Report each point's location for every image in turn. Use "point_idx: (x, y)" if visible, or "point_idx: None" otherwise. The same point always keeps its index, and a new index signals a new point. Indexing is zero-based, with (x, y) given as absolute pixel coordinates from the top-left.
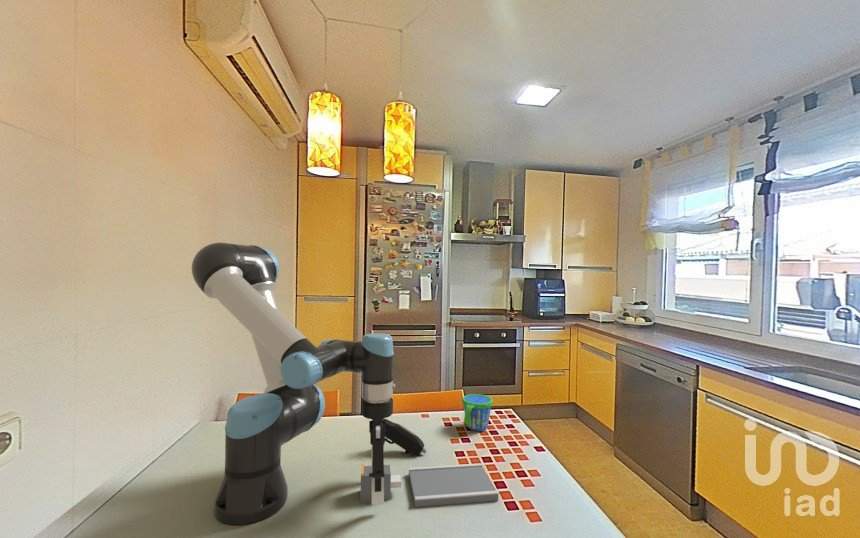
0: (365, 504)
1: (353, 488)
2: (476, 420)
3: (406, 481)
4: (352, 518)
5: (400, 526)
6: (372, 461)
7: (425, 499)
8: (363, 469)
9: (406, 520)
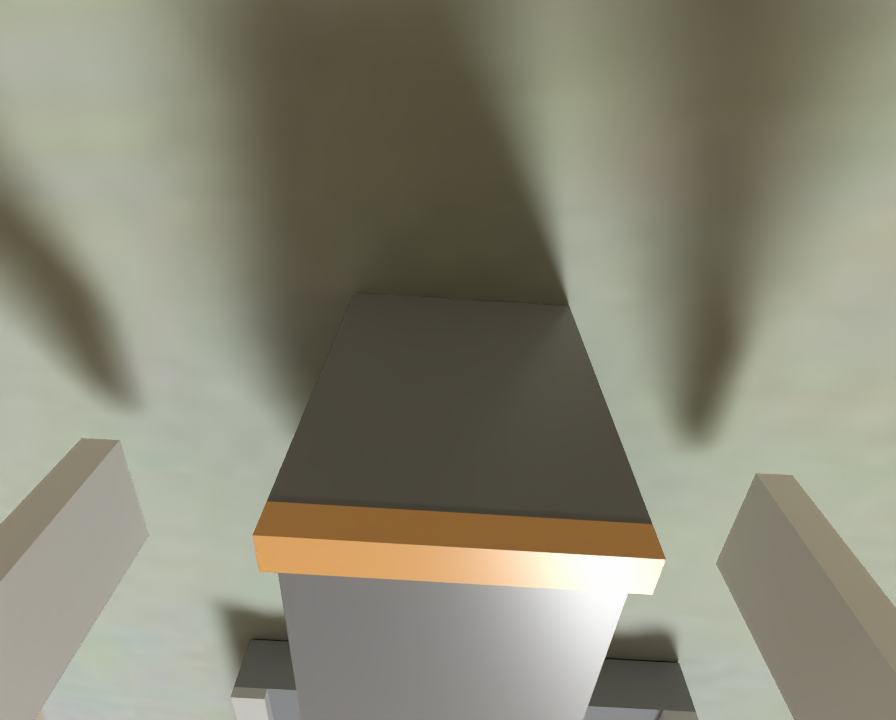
0: (299, 340)
1: (644, 223)
2: None
3: None
4: (47, 202)
5: None
6: (843, 614)
7: None
8: (431, 580)
9: None
